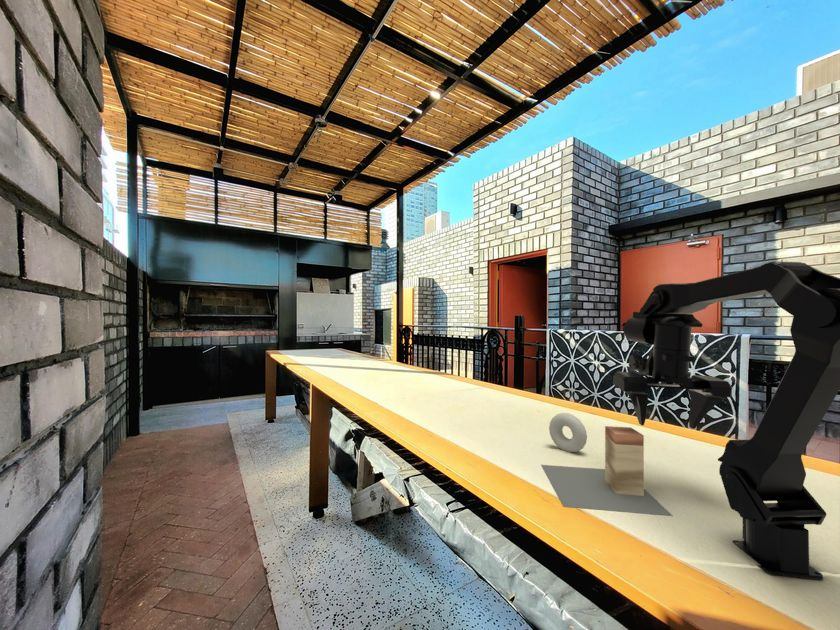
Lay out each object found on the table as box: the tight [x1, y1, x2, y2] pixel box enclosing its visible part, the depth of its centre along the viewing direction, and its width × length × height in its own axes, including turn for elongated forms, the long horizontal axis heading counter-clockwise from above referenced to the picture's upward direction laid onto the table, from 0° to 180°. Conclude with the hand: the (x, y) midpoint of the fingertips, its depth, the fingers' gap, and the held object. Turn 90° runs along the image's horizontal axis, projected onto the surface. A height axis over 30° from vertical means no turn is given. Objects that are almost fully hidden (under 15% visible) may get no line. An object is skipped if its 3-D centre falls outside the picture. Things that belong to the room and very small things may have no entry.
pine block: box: [604, 425, 645, 496], centre depth 67 cm, size 5×5×12 cm
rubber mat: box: [540, 464, 674, 517], centre depth 67 cm, size 18×18×1 cm
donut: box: [548, 412, 588, 453], centre depth 87 cm, size 10×4×10 cm, turn 36°
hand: (666, 426), depth 66 cm, fingers open, 9 cm apart
